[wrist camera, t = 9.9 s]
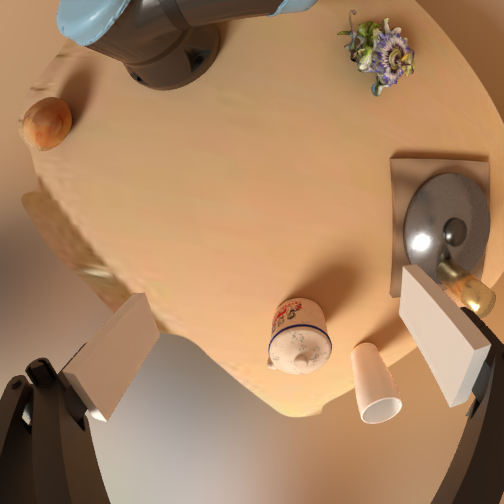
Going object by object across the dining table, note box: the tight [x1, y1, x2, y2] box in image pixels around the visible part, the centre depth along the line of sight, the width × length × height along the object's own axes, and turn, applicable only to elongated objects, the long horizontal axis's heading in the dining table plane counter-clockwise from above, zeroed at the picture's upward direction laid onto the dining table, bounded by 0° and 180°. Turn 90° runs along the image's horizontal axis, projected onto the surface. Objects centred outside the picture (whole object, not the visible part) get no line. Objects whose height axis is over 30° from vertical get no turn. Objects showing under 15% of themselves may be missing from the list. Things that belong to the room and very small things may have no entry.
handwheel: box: [403, 172, 496, 318], centre depth 29 cm, size 18×18×13 cm
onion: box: [22, 97, 72, 151], centre depth 34 cm, size 10×10×10 cm
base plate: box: [390, 158, 490, 298], centre depth 37 cm, size 22×20×2 cm
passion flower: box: [337, 10, 415, 96], centre depth 27 cm, size 11×11×12 cm
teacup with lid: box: [267, 298, 332, 374], centre depth 40 cm, size 12×9×12 cm
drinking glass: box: [351, 342, 402, 424], centre depth 39 cm, size 7×7×15 cm
